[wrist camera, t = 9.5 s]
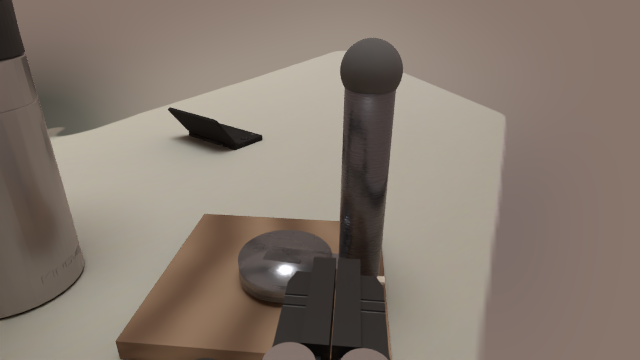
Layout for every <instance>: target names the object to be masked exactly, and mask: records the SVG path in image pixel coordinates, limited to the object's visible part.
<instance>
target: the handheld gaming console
mask: <svg viewBox="0 0 640 360" xmlns="http://www.w3.org/2000/svg"><path fill="white" fill-rule="evenodd" d="M168 110H169V111H170V112H171V113H172V115H173V116H174V117H175V118H176V119H177V120H178V121H179V122H180V123H181V124H182V125H183V126H184V127H185V128H186V129H187V130H189V136H192V137H196V138H199V139H202V140H205V141H208V142H212V143H215V144H218V145H223V146H224V147H227V148H230V149H233V150H237V149H240V148H242V147H245V146H248V145H250V144H253V143H256V142H258V141H261V140H262V135H259V134H255V133H252V132H248V131H245V130H241V129H238V128H234V127H231V126H227V125H223V124H220V123H218V122H217V121H216V120H214V119H210V118H206V117H203V116H199V115H196V114H192V113H188V112H185V111H181V110H177V109H174V108H169V109H168Z"/></svg>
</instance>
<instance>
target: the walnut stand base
mask: <svg viewBox="0 0 640 360" xmlns="http://www.w3.org/2000/svg"><path fill="white" fill-rule="evenodd" d="M278 230H298V231H304V232H308V233H311V234H314V235H316V236H318V237H320V238H321V239H323V240H324V241H325V242H326V243H327V244H328V245H329V246H330V248H331V251H332V253H334V254H339V231H340V221H322V220H304V219H286V218H268V217H250V216H231V215H213V214H204V215H203V217H202V218H201V220H200V221H199V222H198V224H197V225H196V227H195V228H194V230H193V231H192V233H191V234H190V235H189V237H188V238H187V240H186V241H185V243H184V244H183V245H182V247H181V248H180V250H179V251H178V253H177V254H176V255H175V257H174V258H173V260H172V261H171V263H170V264H169V265H168V267H167V268H166V270H165V271H164V273H163V274H162V275H161V277H160V278H159V280H158V281H157V283H156V284H155V286H154V287H153V288H152V290H151V291H150V293H149V294H148V296H147V297H146V298H145V300H144V301H143V303H142V304H141V306H140V307H139V308H138V310H137V311H136V313H135V314H134V316H133V317H132V318H131V320H130V321H129V323H128V324H127V326H126V327H125V328H124V330H123V331H122V333H121V334H120V336H119V337H118V338H117V340H116V345H117V348H118V352H119V356H120V359H130V360H196V359H200V358H212V359H216V360H261V359H263V357H264V355H265V354H266V352H267V351H268V350H269V349H271V348H272V345H273V342H274V338H275V334H276V330H277V325H278V321H279V317H280V313H281V309H282V306H283V303H275V302H269V301H264V300H261V299H259V298H256V297H254V296H253V295H251V294H250V293H248V292H247V291H246V290H245V289H244V288H243V286H242V284H241V282H240V278H239V268H238V255H239V252H240V250H241V249H242V247H243V246H244V245H245V244H246V243H247V242H248V241H250V240H251V239H253V238H255V237H257V236H259V235H261V234H264V233H267V232H272V231H278ZM377 279H378V280H379V282H380V283H381V285H382V286H383V288H384V299H385V314H386V324H387V336H388V348H389V356H390V359H391V348H390V337H389V325H388V314H387V303H386V291H385V276H384V268H383V257H382V248H381V260H380V271H379V275H378V277H377ZM336 281H337V280H335V294H336ZM334 307H335V299H334ZM333 321H334V315H333ZM332 334H333V328H332ZM331 349H332V341H331ZM330 360H331V354H330Z"/></svg>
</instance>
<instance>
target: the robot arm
mask: <svg viewBox="0 0 640 360" xmlns="http://www.w3.org/2000/svg"><path fill="white" fill-rule="evenodd" d="M24 52H25V50H24V46H23V43H22V40H21V36H20V32H19V29H18V25H17V20H16V16H15V12H14V7H13V3H12V0H0V318H3V317H8V316H11V315H15V314H18V313H21V312H24V311H27V310H29V309H32V308H34V307H37V306H39V305H41V304H43V303H45V302H47V301H49V300H51V299H53V298H54V297H56V296H57V295H59V294H60V293H62V292H63V291H65V290H66V289H67V288H68V287H69V286H70V285H72V284H73V283H74V282H75V281H76V279H77V278H78V277H79V276H80V274H81V272H82V270H83V268H84V259H83V255H82V252H81V248H80V245H79V241H78V237H77V234H76V230H75V227H74V223H73V219H72V215H71V212H70V208H69V205H68V201H67V198H66V194H65V190H64V187H63V183H62V180H61V176H60V173H59V169H58V166H57V162H56V159H55V155H54V152H53V148H52V144H51V141H50V137H49V134H48V130H47V127H46V123H45V120H44V116H43V113H42V109H41V106H40V103H39V99H38V96H37V92H36V88H35V85H34V82H33V78H32V74H31V71H30V67H29V64H28V60H27V57H26V54H25V53H24ZM335 278H336V258H332V257H318V256H314V260H313V267H312V272H305V271H297V272H296V273H295V274H294V275H293V276H292V277H291V278H290V279H289V281H288V283H287V288H286V292H285V296H284V300H283V306H282V309H281V313H280V317H279V321H278V325H277V330H276V334H275V338H274V342H273V345H272V348H271V349H269V350H268V351H267V352H266V354H265V355H264V357H263V359H261V360H330V354H331V360H391V359H390V356H389V348H388V336H387V324H386V314H385V299H384V288H383V286H382V285H381V283H380V282H379V280H378V279H377V277H376V276H363V275H360V259H348V258H338V268H337V281H336V294H335ZM334 299H335V307H334ZM333 315H334V321H333ZM332 328H333V334H332ZM331 341H332V349H331ZM196 360H216V359H212V358H200V359H196Z"/></svg>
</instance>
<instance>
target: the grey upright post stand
mask: <svg viewBox="0 0 640 360" xmlns="http://www.w3.org/2000/svg"><path fill="white" fill-rule="evenodd" d="M402 73H403V65H402V60H401V57H400V55H399V53H398V51H397V50H396V49H395V48H394V47H393V46H392V45H391V44H390V43H388V42H386V41H384V40H382V39H378V38H368V39H363V40H361V41H358V42H357V43H355V44H354V45H353V46H351V47H350V48H349V49H348V51H347V52H346V53H345V55H344V57H343V60H342V63H341V68H340V74H341V80H342V83H343V85H344V87H345V97H344V123H343V150H342V177H341V204H340V231H339V254H334V253H332V251H331V248H330V246H329V245H328V244H327V243H326V242H325V241H324V240H323V239H321V238H320V237H318V236H316V235H314V234H311V233H308V232H304V231H298V230H278V231H272V232H267V233H264V234H261V235H259V236H257V237H255V238H253V239H251V240H250V241H248V242H247V243H246V244H245V245H244V246H243V247H242V249H241V250H240V252H239V255H238V268H239V278H240V282H241V284H242V286H243V288H244V289H245V290H246V291H247V292H248V293H250V294H251V295H253V296H254V297H256V298H259V299H261V300H264V301H269V302H275V303H283V300H284V296H285V292H286V288H287V283H288V281H289V279H290V278H291V277H292V276H293V275H294V274H295V273H296V272H297V271H305V272H312V267H313V260H314V256H318V257H332V258H336V278H335V280H337V268H338V258H348V259H360V275H363V276H376V277H378V275H379V271H380V260H381V248H382V237H383V226H384V215H385V204H386V193H387V182H388V171H389V160H390V149H391V137H392V126H393V115H394V104H395V93H396V89H397V87H398V85H399V83H400V81H401V78H402Z"/></svg>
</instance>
